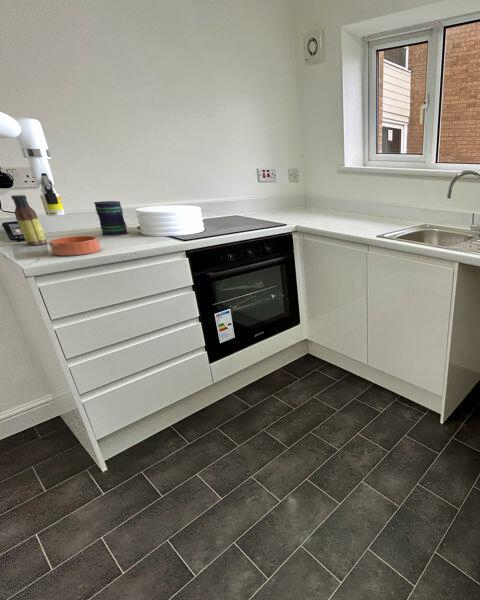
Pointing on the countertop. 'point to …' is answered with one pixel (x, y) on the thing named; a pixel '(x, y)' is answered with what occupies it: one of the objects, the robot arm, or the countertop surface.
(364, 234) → the countertop surface
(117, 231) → the storage jar
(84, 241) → the bowl
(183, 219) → the plate stack
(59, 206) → the supplement bottle
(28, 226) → the sauce bottle
